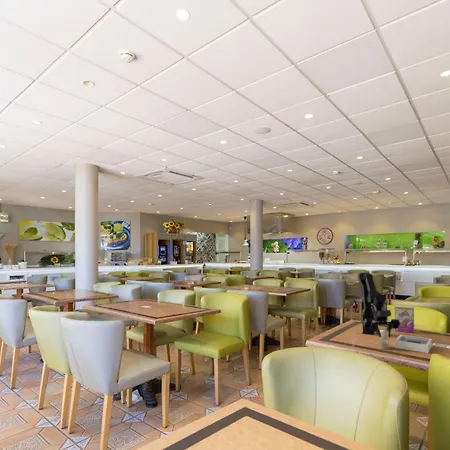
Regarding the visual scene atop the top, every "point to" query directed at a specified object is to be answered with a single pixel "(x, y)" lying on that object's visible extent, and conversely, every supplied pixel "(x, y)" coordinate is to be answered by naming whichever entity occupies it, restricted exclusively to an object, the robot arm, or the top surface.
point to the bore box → (413, 343)
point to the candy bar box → (405, 318)
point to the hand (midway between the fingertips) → (385, 336)
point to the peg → (384, 339)
